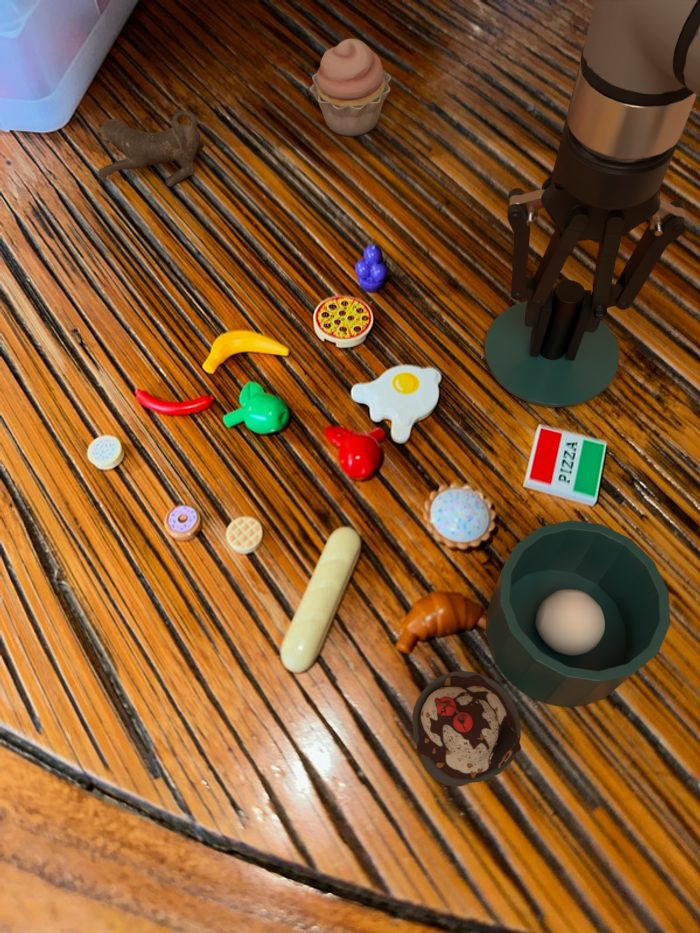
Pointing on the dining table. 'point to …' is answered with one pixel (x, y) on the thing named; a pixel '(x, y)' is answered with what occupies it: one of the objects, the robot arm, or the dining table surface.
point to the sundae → (465, 728)
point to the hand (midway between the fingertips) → (552, 346)
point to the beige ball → (570, 622)
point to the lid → (551, 354)
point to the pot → (606, 581)
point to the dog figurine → (154, 146)
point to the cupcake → (350, 88)
